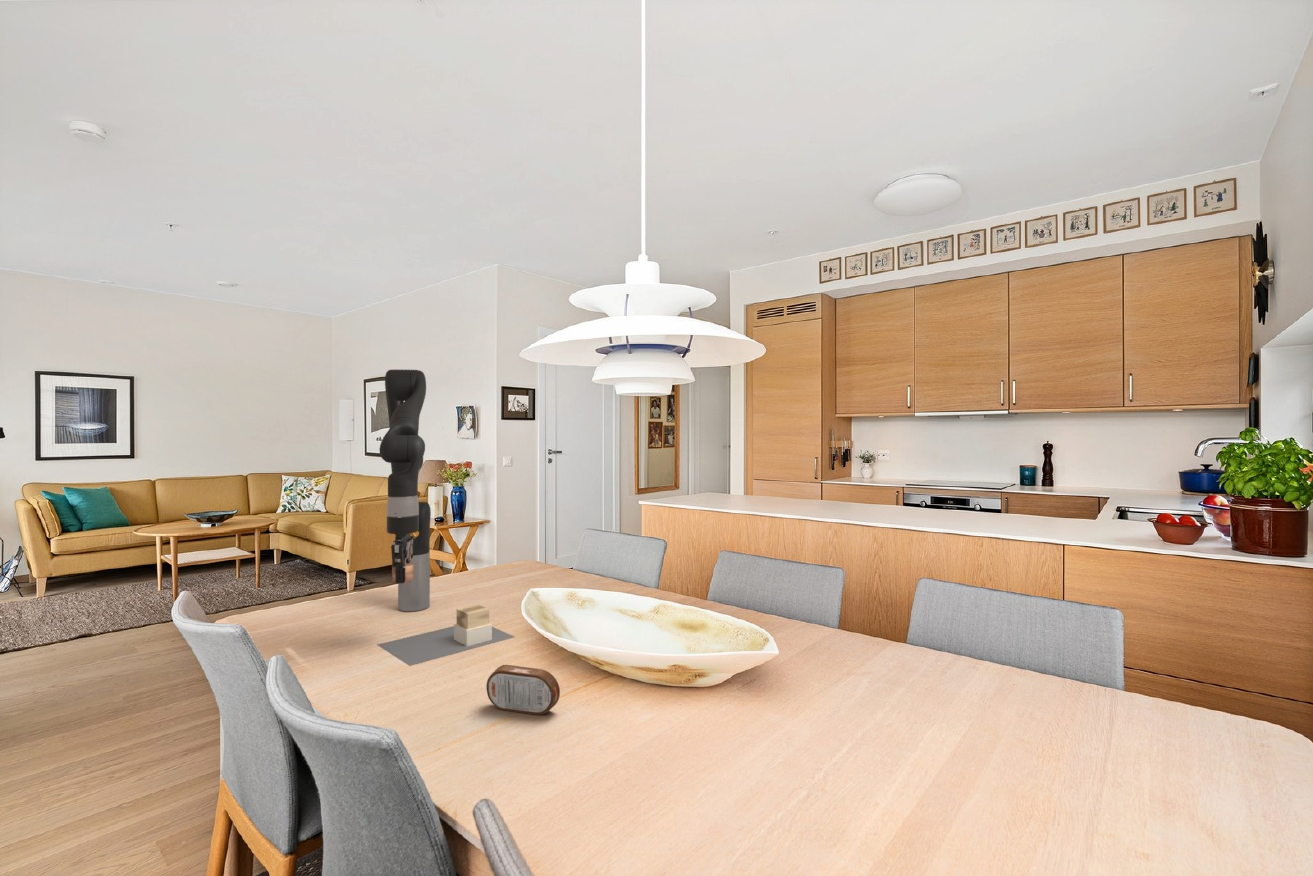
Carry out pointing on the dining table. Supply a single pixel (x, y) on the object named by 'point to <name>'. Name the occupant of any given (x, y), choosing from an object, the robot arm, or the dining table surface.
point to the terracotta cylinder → (407, 573)
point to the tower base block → (472, 634)
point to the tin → (523, 689)
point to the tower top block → (472, 616)
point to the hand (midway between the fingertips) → (402, 580)
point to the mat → (434, 645)
